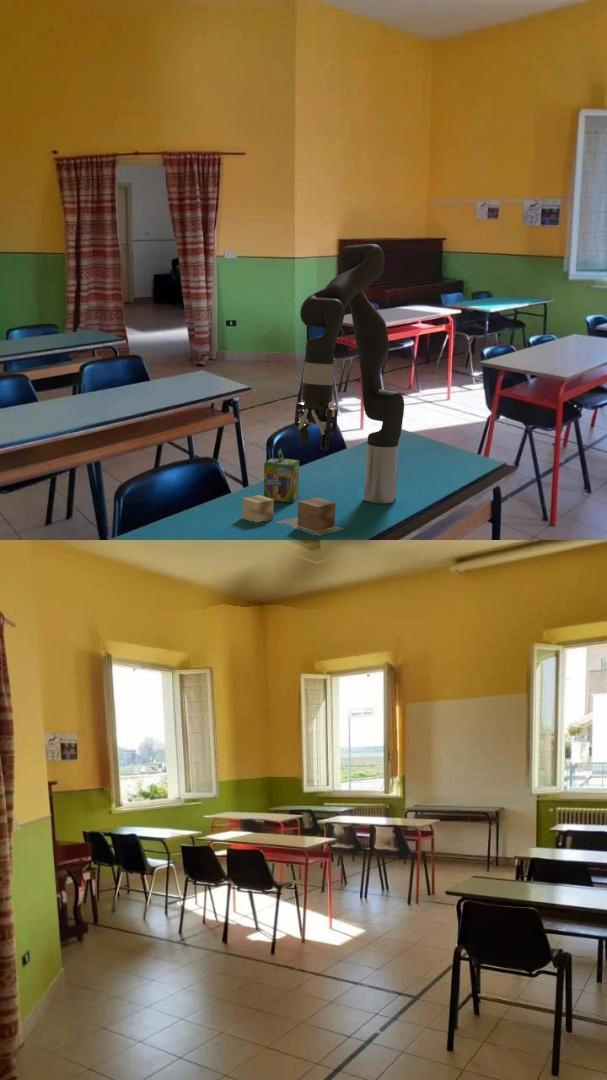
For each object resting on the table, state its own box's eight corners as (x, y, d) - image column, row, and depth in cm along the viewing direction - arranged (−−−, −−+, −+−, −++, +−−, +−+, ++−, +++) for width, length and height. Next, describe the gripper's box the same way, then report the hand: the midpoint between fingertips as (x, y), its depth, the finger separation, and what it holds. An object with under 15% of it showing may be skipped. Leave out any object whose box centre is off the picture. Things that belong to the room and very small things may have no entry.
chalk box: (292, 503, 246) (294, 454, 241) (262, 501, 247) (264, 452, 243) (299, 496, 255) (301, 448, 250) (270, 493, 256) (271, 446, 252)
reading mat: (303, 516, 233) (303, 515, 233) (344, 529, 222) (344, 528, 222) (274, 522, 226) (274, 522, 226) (316, 536, 215) (316, 536, 215)
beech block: (258, 515, 232) (259, 495, 230) (273, 520, 228) (273, 499, 226) (242, 519, 228) (242, 498, 226) (256, 524, 224) (257, 502, 222)
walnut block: (315, 522, 227) (316, 497, 225) (334, 528, 222) (335, 502, 220) (297, 526, 222) (298, 501, 220) (316, 533, 218) (317, 507, 215)
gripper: (348, 384, 202) (343, 451, 206) (312, 379, 213) (308, 442, 217) (323, 384, 198) (319, 452, 202) (288, 379, 209) (285, 443, 213)
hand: (313, 447), depth 209 cm, fingers open, 8 cm apart
